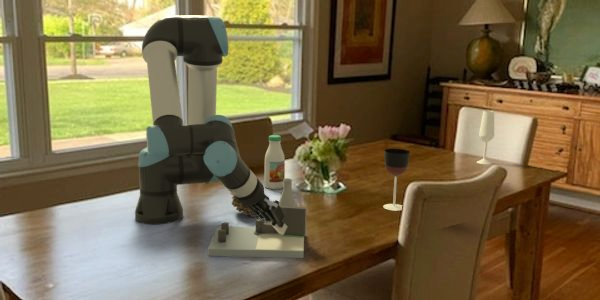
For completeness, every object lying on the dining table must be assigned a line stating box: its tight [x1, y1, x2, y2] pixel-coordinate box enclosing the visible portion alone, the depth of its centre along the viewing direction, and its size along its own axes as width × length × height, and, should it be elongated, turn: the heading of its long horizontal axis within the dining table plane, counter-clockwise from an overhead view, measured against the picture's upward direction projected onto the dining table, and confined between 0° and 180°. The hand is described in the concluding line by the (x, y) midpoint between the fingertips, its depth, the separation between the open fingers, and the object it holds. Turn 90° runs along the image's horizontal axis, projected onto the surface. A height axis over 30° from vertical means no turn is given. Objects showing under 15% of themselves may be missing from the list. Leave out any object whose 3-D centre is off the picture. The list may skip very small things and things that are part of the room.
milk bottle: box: [263, 134, 286, 190], centre depth 228 cm, size 8×8×20 cm
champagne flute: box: [476, 110, 495, 165], centre depth 273 cm, size 7×7×24 cm
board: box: [207, 221, 305, 259], centre depth 171 cm, size 26×18×5 cm
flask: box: [278, 177, 298, 207], centre depth 204 cm, size 7×7×10 cm
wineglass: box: [382, 148, 411, 212], centre depth 206 cm, size 8×9×20 cm
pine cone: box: [231, 195, 257, 218], centre depth 194 cm, size 22×10×10 cm, turn 44°
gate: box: [255, 206, 307, 237], centre depth 173 cm, size 15×2×8 cm, turn 81°
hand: (283, 230), depth 170 cm, fingers closed
